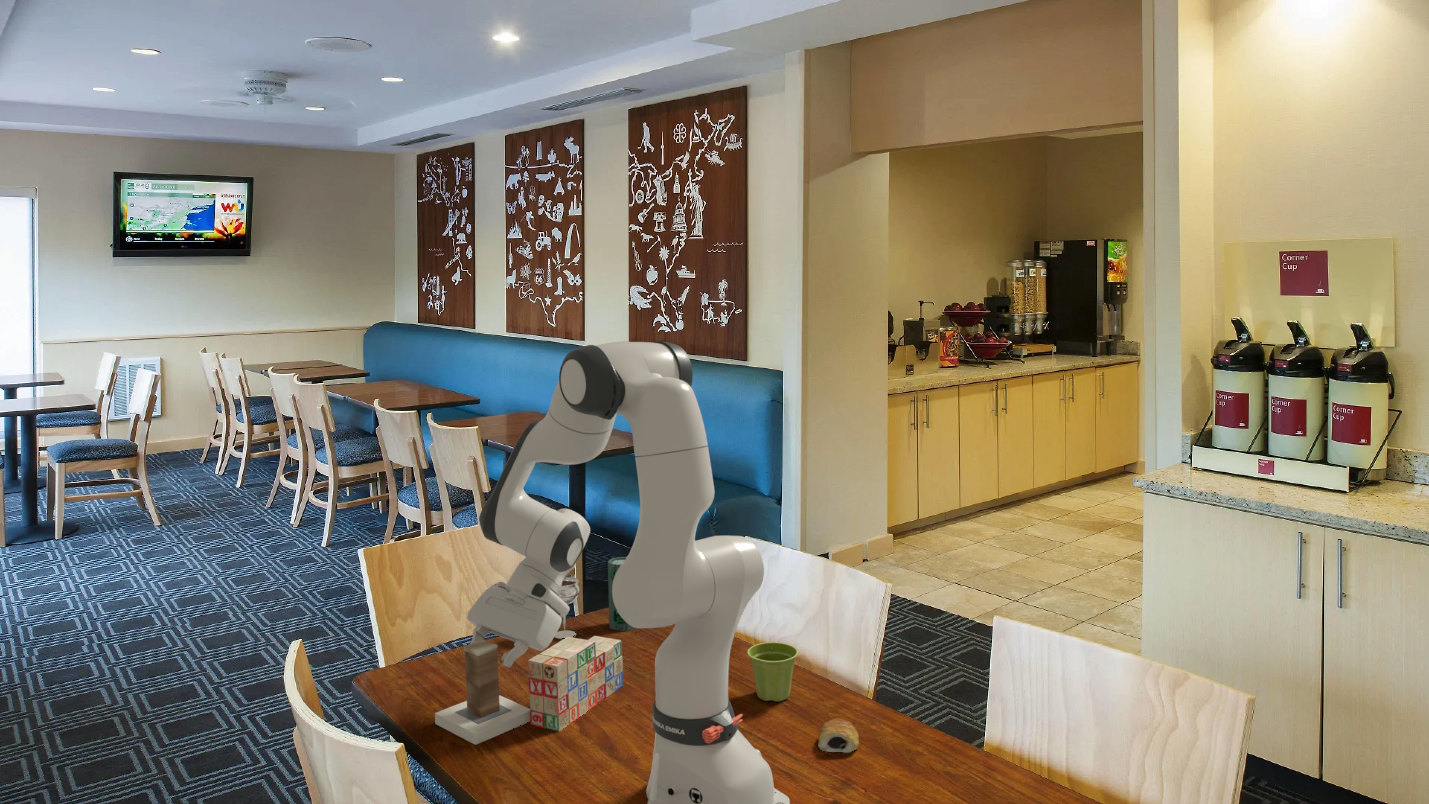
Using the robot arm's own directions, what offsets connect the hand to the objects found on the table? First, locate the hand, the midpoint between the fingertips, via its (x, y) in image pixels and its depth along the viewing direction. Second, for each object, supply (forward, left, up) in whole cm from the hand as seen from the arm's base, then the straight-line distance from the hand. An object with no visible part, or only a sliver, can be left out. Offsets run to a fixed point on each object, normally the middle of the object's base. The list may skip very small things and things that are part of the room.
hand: (488, 658), depth 177 cm
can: (+16, -48, -12) cm, 52 cm away
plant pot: (-32, -41, -12) cm, 53 cm away
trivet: (0, +1, -11) cm, 12 cm away
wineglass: (+22, -36, -12) cm, 44 cm away
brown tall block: (0, +1, -9) cm, 10 cm away
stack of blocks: (-7, -14, -12) cm, 20 cm away
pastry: (-52, -33, -12) cm, 63 cm away
